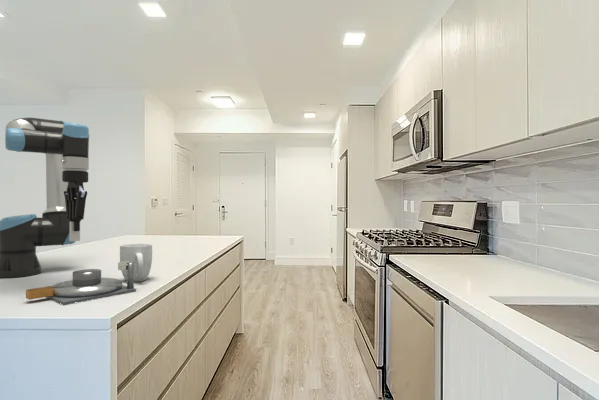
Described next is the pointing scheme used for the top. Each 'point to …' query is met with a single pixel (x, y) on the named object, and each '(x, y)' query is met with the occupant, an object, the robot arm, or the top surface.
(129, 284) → the post
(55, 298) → the base plate
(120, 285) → the turntable
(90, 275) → the dark grey bowl
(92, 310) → the top surface
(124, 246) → the mug
